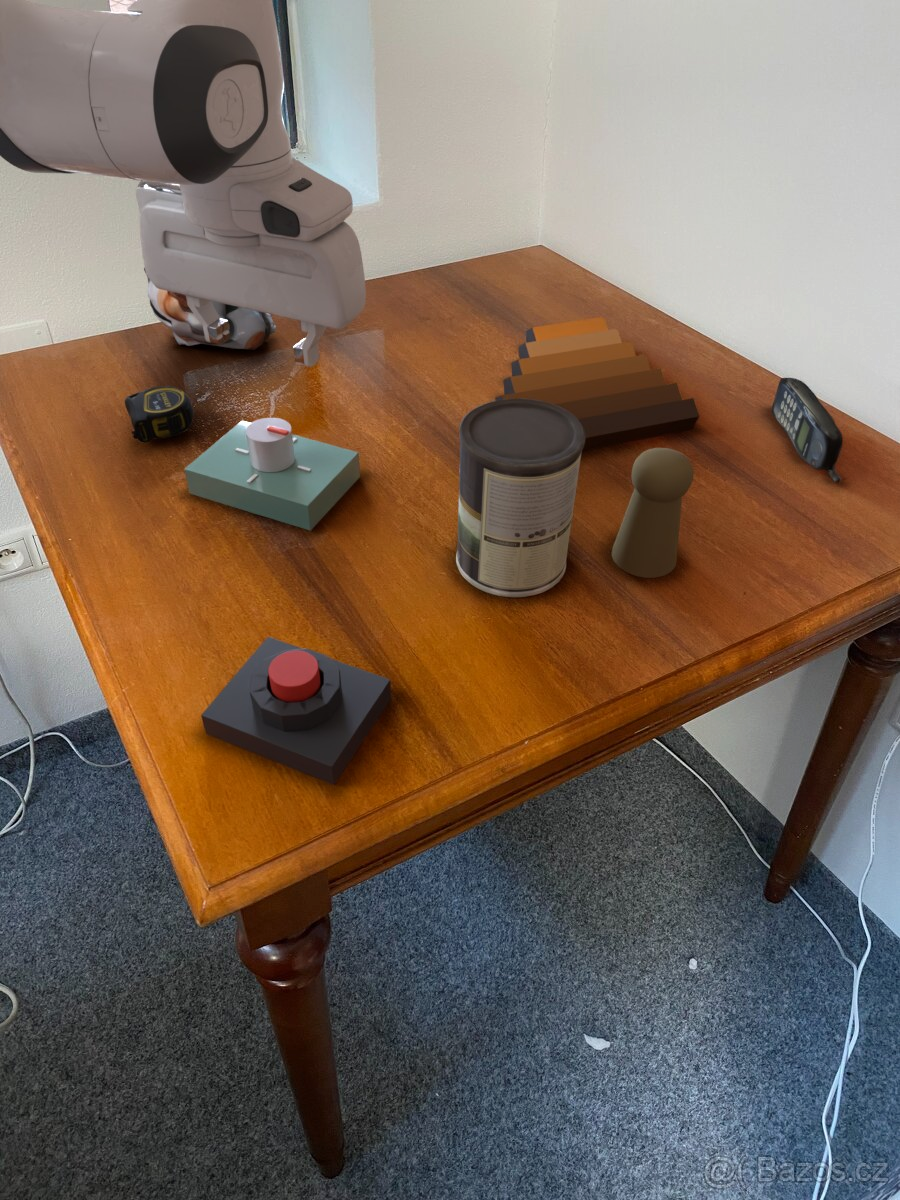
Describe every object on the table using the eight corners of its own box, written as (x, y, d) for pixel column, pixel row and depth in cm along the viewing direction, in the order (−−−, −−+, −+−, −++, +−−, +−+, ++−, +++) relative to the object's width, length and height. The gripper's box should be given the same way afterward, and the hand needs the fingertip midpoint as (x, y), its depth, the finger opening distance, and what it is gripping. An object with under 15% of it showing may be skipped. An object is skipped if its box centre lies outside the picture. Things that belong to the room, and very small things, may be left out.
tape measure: (128, 419, 98) (120, 389, 95) (191, 408, 100) (184, 378, 97) (136, 451, 93) (128, 420, 91) (201, 439, 95) (195, 409, 92)
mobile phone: (776, 373, 98) (833, 443, 87) (801, 372, 99) (861, 442, 87) (765, 413, 102) (818, 485, 90) (789, 412, 102) (846, 484, 91)
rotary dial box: (189, 493, 88) (183, 467, 86) (245, 444, 94) (241, 418, 92) (310, 531, 84) (307, 504, 81) (360, 476, 90) (358, 450, 88)
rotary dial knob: (241, 465, 86) (235, 432, 84) (266, 443, 89) (261, 410, 86) (279, 476, 85) (275, 443, 82) (303, 454, 88) (299, 421, 85)
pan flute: (488, 473, 91) (695, 432, 98) (489, 445, 89) (702, 405, 96) (413, 363, 108) (594, 335, 115) (413, 338, 106) (597, 310, 113)
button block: (205, 734, 65) (196, 698, 63) (271, 655, 72) (265, 620, 69) (334, 785, 62) (330, 750, 60) (391, 698, 68) (390, 663, 66)
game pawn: (683, 547, 83) (709, 448, 75) (667, 585, 79) (692, 485, 71) (622, 529, 85) (641, 431, 77) (603, 566, 81) (621, 466, 73)
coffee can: (432, 565, 80) (433, 432, 71) (500, 513, 86) (509, 384, 77) (523, 615, 76) (537, 480, 66) (588, 557, 81) (609, 426, 72)
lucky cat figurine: (289, 346, 111) (243, 269, 98) (208, 394, 111) (151, 324, 98) (245, 272, 117) (196, 191, 104) (168, 318, 117) (109, 242, 104)
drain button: (261, 693, 64) (258, 677, 63) (287, 660, 66) (285, 644, 65) (304, 709, 63) (302, 693, 62) (329, 675, 65) (327, 659, 64)
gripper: (106, 181, 70) (145, 343, 79) (329, 223, 64) (343, 392, 73) (156, 159, 74) (188, 315, 83) (370, 196, 68) (378, 359, 77)
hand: (262, 351), depth 78 cm, fingers open, 8 cm apart
